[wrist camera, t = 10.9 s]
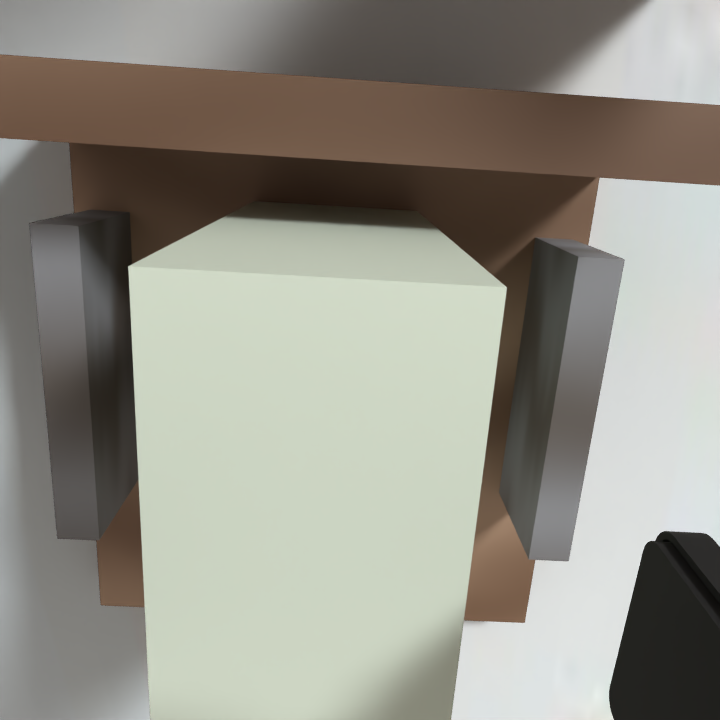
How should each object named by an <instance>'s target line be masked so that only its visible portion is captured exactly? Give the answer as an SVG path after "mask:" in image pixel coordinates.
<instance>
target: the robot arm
mask: <svg viewBox="0 0 720 720" xmlns="http://www.w3.org/2000/svg"><path fill="white" fill-rule="evenodd" d="M609 701H610V708H611V712H612V715H613V718H614V720H720V547H719V545H718V544H717V543H716V542H715V541H714V540H713V539H712V538H711V537H710V536H709V535H707V534H704V533H690V532H670V531H664V532H662V533H660V534H659V535H658V537H657V538H656V541H650V542H648V543H647V544H646V545H645V547H644V550H643V554H642V558H641V562H640V566H639V570H638V574H637V578H636V583H635V587H634V591H633V595H632V599H631V603H630V607H629V611H628V615H627V619H626V623H625V627H624V632H623V636H622V640H621V644H620V648H619V652H618V656H617V660H616V664H615V668H614V672H613V676H612V681H611V685H610V690H609Z"/></svg>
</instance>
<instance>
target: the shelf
mask: <svg viewBox="0 0 720 720" xmlns="http://www.w3.org/2000/svg"><path fill="white" fill-rule="evenodd" d="M0 138H8V139H23V140H38V141H53V142H69V146H70V161H71V175H72V190H73V205H74V213H73V214H68V215H63V216H59V217H54V218H50V219H45V220H41V221H36V222H32V223H29V225H30V236H31V248H32V259H33V270H34V281H35V293H36V304H37V315H38V326H39V338H40V349H41V360H42V371H43V383H44V394H45V405H46V416H47V428H48V439H49V450H50V461H51V473H52V484H53V495H54V506H55V518H56V529H57V538H58V539H80V540H96V542H97V557H98V572H99V586H100V601H101V605H105V606H129V607H145V603H144V582H143V561H142V541H141V520H140V499H139V478H138V458H137V437H136V416H135V395H134V374H133V354H132V333H131V312H130V291H129V270H128V266H130V265H132V264H134V263H136V262H137V261H139V260H141V259H143V258H145V257H147V256H149V255H151V254H153V253H155V252H157V251H159V250H161V249H163V248H165V247H167V246H169V245H170V244H172V243H174V242H176V241H178V240H180V239H182V238H184V237H186V236H188V235H190V234H192V233H194V232H196V231H198V230H200V229H201V228H203V227H205V226H207V225H209V224H211V223H213V222H215V221H217V220H219V219H221V218H223V217H225V216H227V215H229V214H231V213H233V212H234V211H236V210H238V209H240V208H242V207H244V206H246V205H248V204H250V203H252V202H254V201H259V202H276V203H293V204H309V205H326V206H343V207H360V208H376V209H393V210H410V211H417V212H419V213H420V214H421V215H422V216H423V217H425V218H426V219H427V220H428V221H429V222H430V223H432V224H433V225H434V226H435V227H436V228H437V229H439V230H440V231H441V232H442V233H443V234H445V235H446V236H447V237H448V238H449V239H450V240H452V241H453V242H454V243H455V244H456V245H458V246H459V247H460V248H461V249H462V250H463V251H465V252H466V253H467V254H468V255H469V256H470V257H472V258H473V259H474V260H475V261H476V262H478V263H479V264H480V265H481V266H482V267H483V268H485V269H486V270H487V271H488V272H489V273H491V274H492V275H493V276H494V277H495V278H496V279H498V280H499V281H500V282H501V283H502V284H503V285H505V286H506V287H507V291H506V299H505V306H504V314H503V322H502V330H501V337H500V345H499V353H498V360H497V368H496V376H495V384H494V391H493V399H492V407H491V414H490V422H489V430H488V437H487V445H486V453H485V461H484V468H483V476H482V484H481V491H480V499H479V507H478V515H477V522H476V530H475V538H474V545H473V553H472V561H471V569H470V576H469V584H468V592H467V599H466V607H465V615H464V620H470V621H494V622H518V623H525V617H526V612H527V606H528V600H529V594H530V588H531V582H532V576H533V570H534V564H535V560H551V561H569V556H570V550H571V545H572V540H573V534H574V529H575V524H576V518H577V513H578V507H579V502H580V497H581V491H582V486H583V481H584V475H585V470H586V465H587V459H588V454H589V448H590V443H591V438H592V432H593V427H594V422H595V416H596V411H597V405H598V400H599V395H600V389H601V384H602V379H603V373H604V368H605V363H606V357H607V352H608V346H609V341H610V336H611V330H612V325H613V320H614V314H615V309H616V304H617V298H618V293H619V287H620V282H621V277H622V271H623V266H624V261H625V260H624V259H622V258H619V257H617V256H614V255H611V254H609V253H606V252H604V251H601V250H598V249H596V248H593V247H591V246H588V243H589V237H590V231H591V225H592V219H593V213H594V207H595V201H596V195H597V189H598V183H599V178H614V179H630V180H645V181H660V182H675V183H690V184H705V185H720V105H710V104H696V103H681V102H667V101H653V100H639V99H625V98H610V97H596V96H582V95H568V94H554V93H539V92H525V91H511V90H497V89H483V88H468V87H454V86H440V85H426V84H412V83H397V82H383V81H369V80H355V79H341V78H326V77H312V76H298V75H284V74H270V73H255V72H241V71H227V70H213V69H199V68H184V67H170V66H156V65H142V64H128V63H113V62H99V61H85V60H71V59H57V58H42V57H28V56H14V55H0Z"/></svg>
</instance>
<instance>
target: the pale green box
mask: <svg viewBox="0 0 720 720" xmlns="http://www.w3.org/2000/svg"><path fill="white" fill-rule="evenodd" d="M128 270H129V291H130V312H131V333H132V354H133V374H134V395H135V416H136V437H137V458H138V478H139V499H140V520H141V541H142V561H143V582H144V603H145V624H146V645H147V665H148V686H149V707H150V720H451V715H452V707H453V700H454V692H455V684H456V676H457V669H458V661H459V653H460V646H461V638H462V630H463V622H464V615H465V607H466V599H467V592H468V584H469V576H470V569H471V561H472V553H473V545H474V538H475V530H476V522H477V515H478V507H479V499H480V491H481V484H482V476H483V468H484V461H485V453H486V445H487V437H488V430H489V422H490V414H491V407H492V399H493V391H494V384H495V376H496V368H497V360H498V353H499V345H500V337H501V330H502V322H503V314H504V306H505V299H506V291H507V287H506V286H505V285H503V284H502V283H501V282H500V281H499V280H498V279H496V278H495V277H494V276H493V275H492V274H491V273H489V272H488V271H487V270H486V269H485V268H483V267H482V266H481V265H480V264H479V263H478V262H476V261H475V260H474V259H473V258H472V257H470V256H469V255H468V254H467V253H466V252H465V251H463V250H462V249H461V248H460V247H459V246H458V245H456V244H455V243H454V242H453V241H452V240H450V239H449V238H448V237H447V236H446V235H445V234H443V233H442V232H441V231H440V230H439V229H437V228H436V227H435V226H434V225H433V224H432V223H430V222H429V221H428V220H427V219H426V218H425V217H423V216H422V215H421V214H420V213H419V212H417V211H410V210H393V209H376V208H360V207H343V206H326V205H309V204H293V203H276V202H259V201H254V202H252V203H250V204H248V205H246V206H244V207H242V208H240V209H238V210H236V211H234V212H233V213H231V214H229V215H227V216H225V217H223V218H221V219H219V220H217V221H215V222H213V223H211V224H209V225H207V226H205V227H203V228H201V229H200V230H198V231H196V232H194V233H192V234H190V235H188V236H186V237H184V238H182V239H180V240H178V241H176V242H174V243H172V244H170V245H169V246H167V247H165V248H163V249H161V250H159V251H157V252H155V253H153V254H151V255H149V256H147V257H145V258H143V259H141V260H139V261H137V262H136V263H134V264H132V265H130V266H128Z"/></svg>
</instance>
